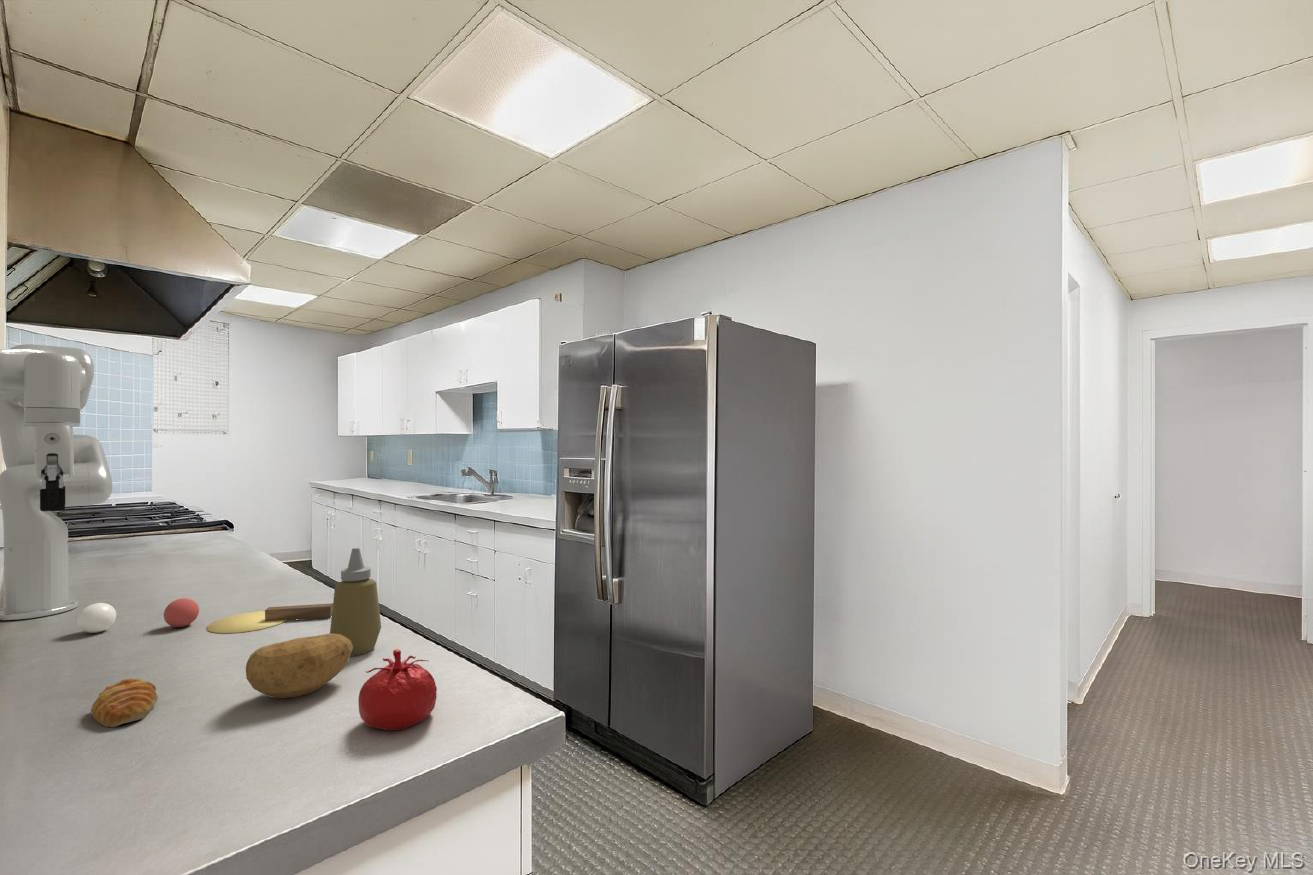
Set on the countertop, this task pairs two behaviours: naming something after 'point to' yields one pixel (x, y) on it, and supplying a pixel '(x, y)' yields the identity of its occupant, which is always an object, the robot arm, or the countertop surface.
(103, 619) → the white egg
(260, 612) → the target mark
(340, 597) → the squeeze bottle
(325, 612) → the rail
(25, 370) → the robot arm
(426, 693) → the red tomato
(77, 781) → the countertop surface
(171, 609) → the object ball
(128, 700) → the pastry
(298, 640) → the potato
